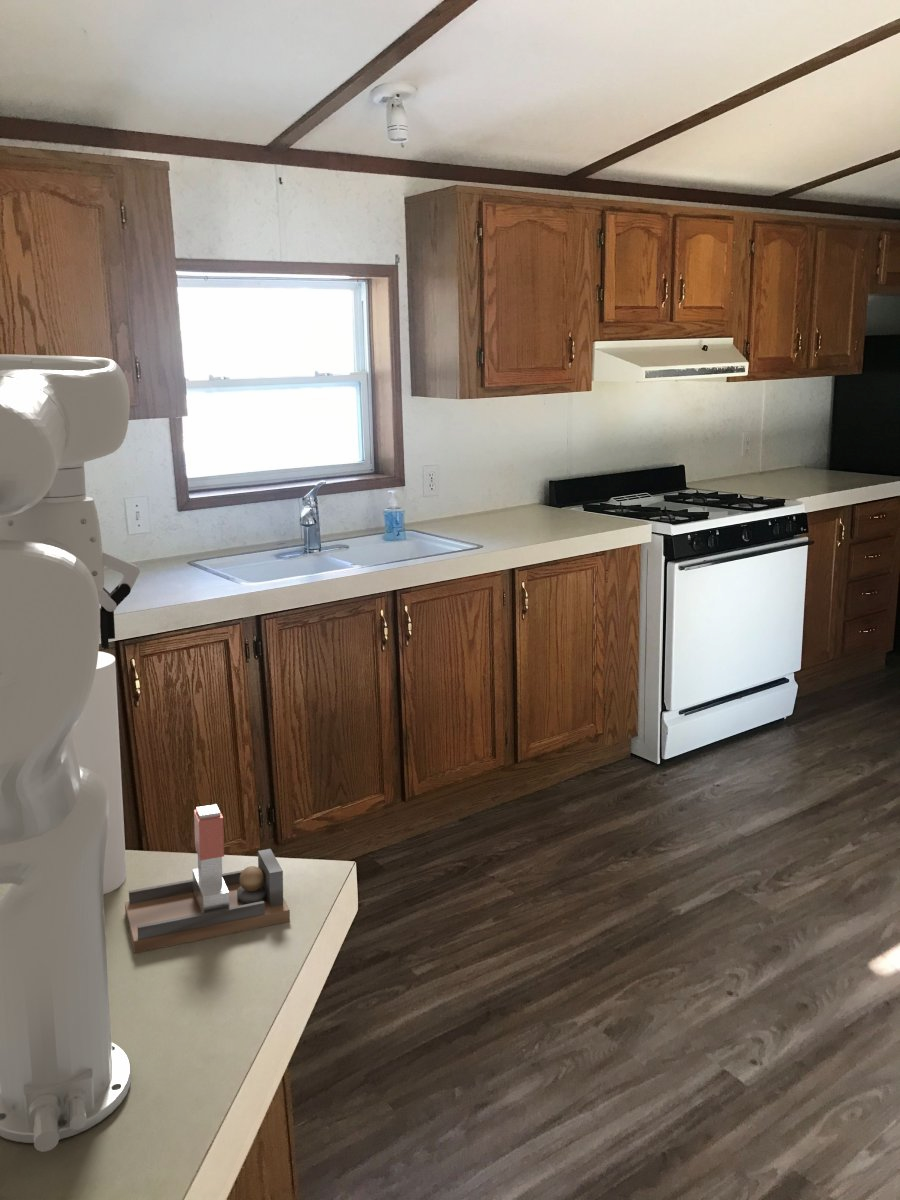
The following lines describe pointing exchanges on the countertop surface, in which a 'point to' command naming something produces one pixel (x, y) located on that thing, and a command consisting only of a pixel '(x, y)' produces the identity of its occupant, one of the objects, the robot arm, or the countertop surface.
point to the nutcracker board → (179, 920)
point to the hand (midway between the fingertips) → (56, 649)
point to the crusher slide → (209, 860)
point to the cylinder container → (105, 761)
